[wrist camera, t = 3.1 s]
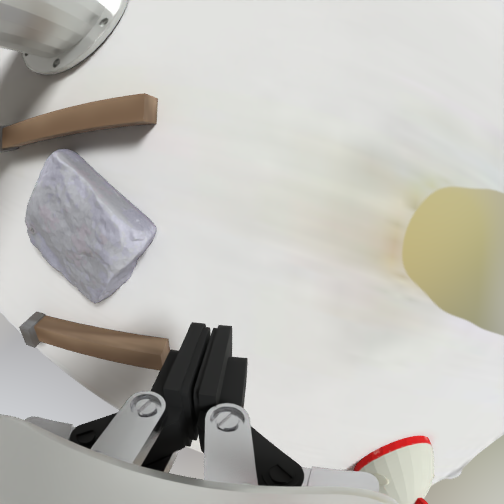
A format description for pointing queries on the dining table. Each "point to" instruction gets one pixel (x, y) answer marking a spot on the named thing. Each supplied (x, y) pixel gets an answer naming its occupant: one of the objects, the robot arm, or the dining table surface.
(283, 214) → the dining table surface
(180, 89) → the dining table surface
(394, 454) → the white crested dome
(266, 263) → the dining table surface
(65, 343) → the walnut chute
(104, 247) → the stone block
